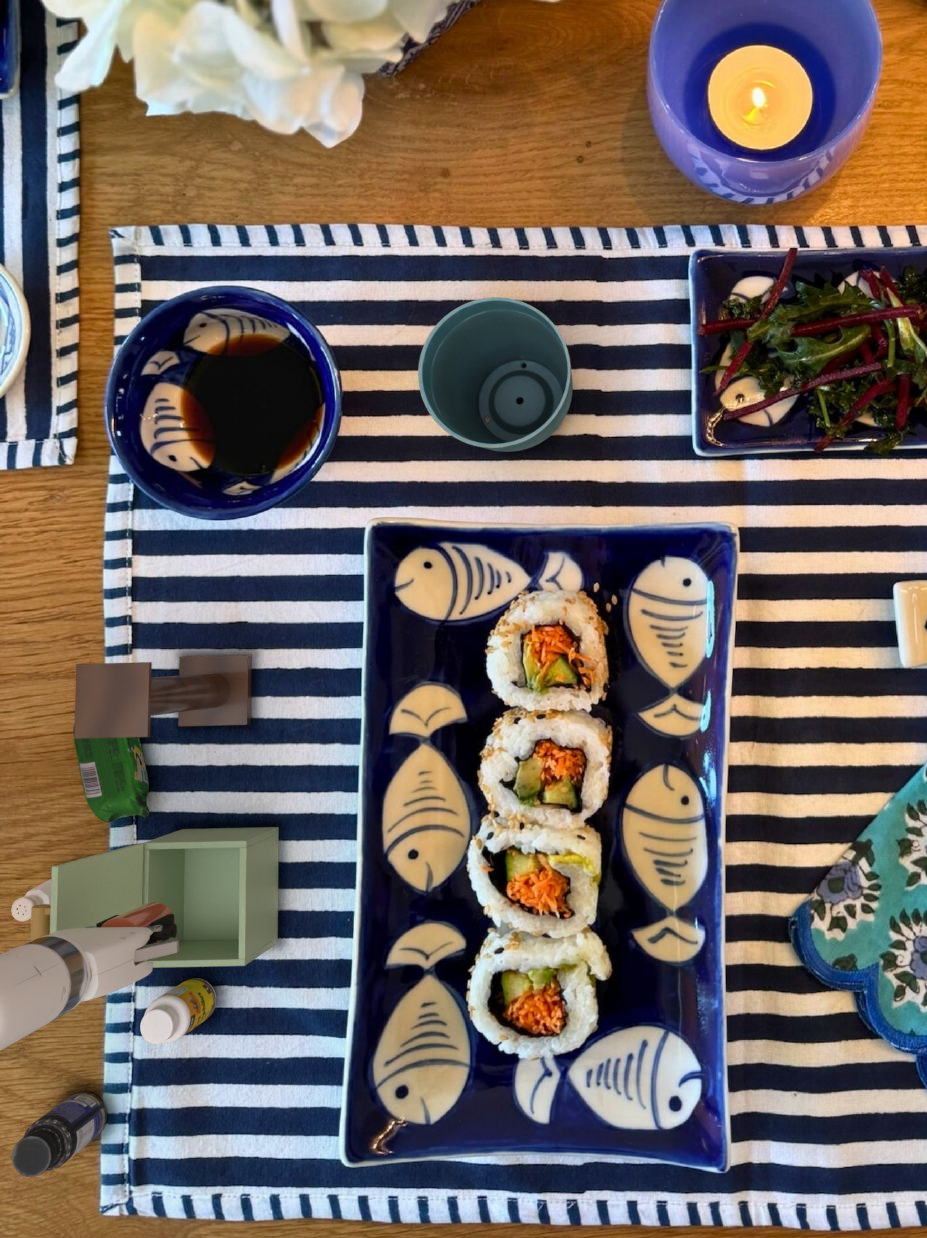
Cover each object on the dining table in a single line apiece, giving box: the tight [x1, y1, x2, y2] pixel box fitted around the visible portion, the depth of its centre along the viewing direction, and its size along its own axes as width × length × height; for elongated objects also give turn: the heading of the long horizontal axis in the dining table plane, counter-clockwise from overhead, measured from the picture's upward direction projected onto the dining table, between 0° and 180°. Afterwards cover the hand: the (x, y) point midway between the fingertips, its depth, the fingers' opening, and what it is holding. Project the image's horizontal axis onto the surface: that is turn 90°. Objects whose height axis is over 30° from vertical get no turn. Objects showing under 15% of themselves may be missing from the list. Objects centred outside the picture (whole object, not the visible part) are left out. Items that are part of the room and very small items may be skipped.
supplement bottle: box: [139, 977, 217, 1045], centre depth 133 cm, size 6×6×10 cm
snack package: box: [72, 722, 151, 824], centre depth 139 cm, size 7×16×5 cm, turn 15°
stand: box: [73, 654, 253, 740], centre depth 130 cm, size 9×9×25 cm
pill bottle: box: [11, 1091, 108, 1178], centre depth 132 cm, size 6×6×11 cm
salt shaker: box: [10, 878, 51, 922], centre depth 135 cm, size 5×5×11 cm
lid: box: [29, 843, 143, 962], centre depth 123 cm, size 13×15×5 cm
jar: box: [101, 902, 175, 945], centre depth 117 cm, size 5×5×7 cm
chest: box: [141, 826, 280, 969], centre depth 135 cm, size 13×15×10 cm
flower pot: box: [417, 296, 574, 453], centre depth 136 cm, size 18×18×17 cm
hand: (144, 929), depth 119 cm, fingers closed on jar, 5 cm apart
